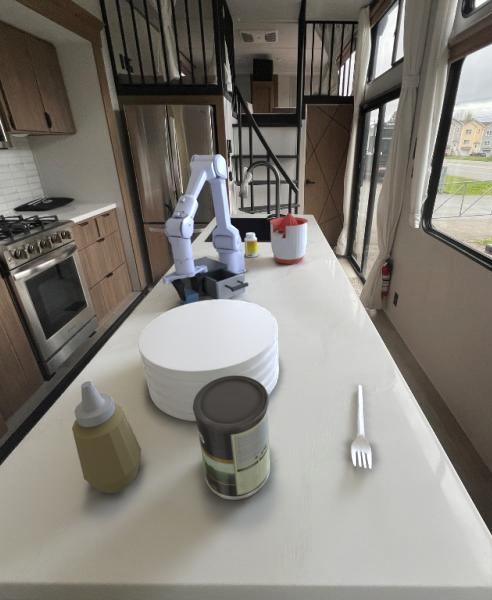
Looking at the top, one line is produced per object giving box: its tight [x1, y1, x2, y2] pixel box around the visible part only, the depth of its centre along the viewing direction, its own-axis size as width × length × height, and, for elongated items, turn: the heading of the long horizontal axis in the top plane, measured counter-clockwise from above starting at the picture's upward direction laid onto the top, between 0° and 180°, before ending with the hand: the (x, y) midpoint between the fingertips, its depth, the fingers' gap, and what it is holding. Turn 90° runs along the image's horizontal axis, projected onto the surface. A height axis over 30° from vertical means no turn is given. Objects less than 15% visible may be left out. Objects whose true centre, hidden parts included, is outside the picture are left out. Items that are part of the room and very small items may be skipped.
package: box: [179, 288, 200, 305], centre depth 104 cm, size 4×5×4 cm
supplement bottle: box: [244, 232, 259, 258], centre depth 145 cm, size 6×6×10 cm
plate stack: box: [137, 298, 280, 422], centre depth 69 cm, size 28×28×12 cm
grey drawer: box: [202, 268, 249, 300], centre depth 107 cm, size 17×10×6 cm, turn 44°
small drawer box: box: [181, 256, 228, 297], centre depth 115 cm, size 14×12×8 cm
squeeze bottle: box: [71, 380, 142, 495], centre depth 46 cm, size 8×8×18 cm
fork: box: [350, 384, 373, 470], centre depth 57 cm, size 3×20×2 cm, turn 167°
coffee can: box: [193, 375, 271, 501], centre depth 47 cm, size 10×10×14 cm
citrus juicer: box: [269, 212, 309, 265], centre depth 135 cm, size 16×17×20 cm
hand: (189, 298), depth 104 cm, fingers closed on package, 4 cm apart
